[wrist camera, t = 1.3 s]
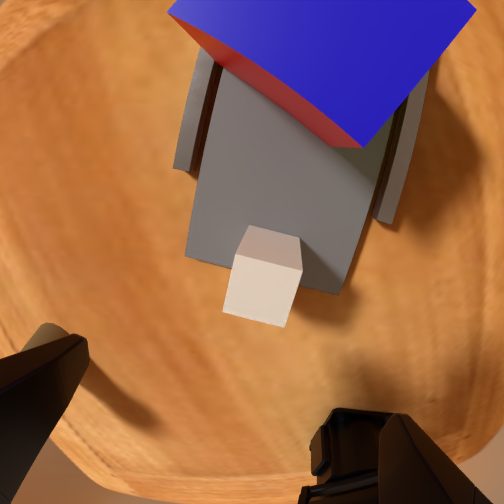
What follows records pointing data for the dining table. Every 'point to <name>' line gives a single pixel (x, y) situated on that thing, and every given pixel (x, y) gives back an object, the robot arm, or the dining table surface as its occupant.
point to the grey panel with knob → (277, 203)
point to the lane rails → (396, 158)
